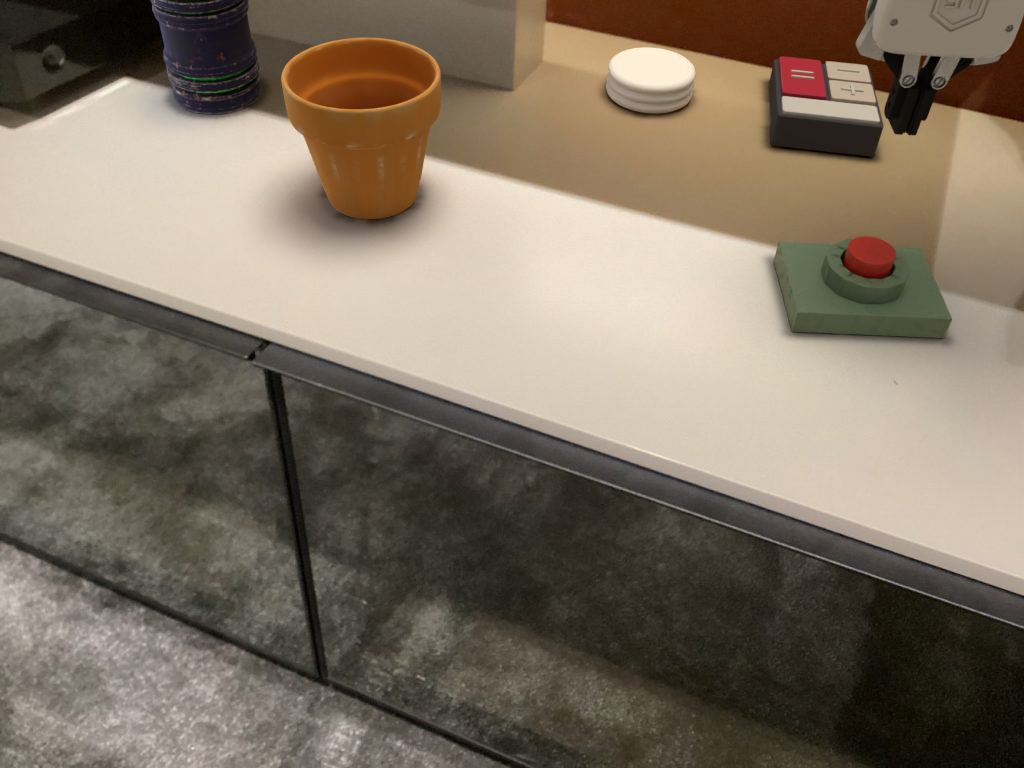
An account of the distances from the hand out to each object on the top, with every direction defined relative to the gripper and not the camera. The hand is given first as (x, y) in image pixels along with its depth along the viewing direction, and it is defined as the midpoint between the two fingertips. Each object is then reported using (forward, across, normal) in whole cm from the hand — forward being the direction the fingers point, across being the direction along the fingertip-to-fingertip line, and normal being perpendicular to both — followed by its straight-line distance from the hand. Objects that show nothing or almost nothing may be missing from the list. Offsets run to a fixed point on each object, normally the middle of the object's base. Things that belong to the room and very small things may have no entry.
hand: (900, 126), depth 78 cm
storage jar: (+16, -66, +27) cm, 73 cm away
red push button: (+12, 0, -3) cm, 12 cm away
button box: (+15, 0, -3) cm, 16 cm away
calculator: (+15, +2, +29) cm, 33 cm away
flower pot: (+15, -45, +9) cm, 49 cm away
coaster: (+15, -17, +32) cm, 40 cm away
